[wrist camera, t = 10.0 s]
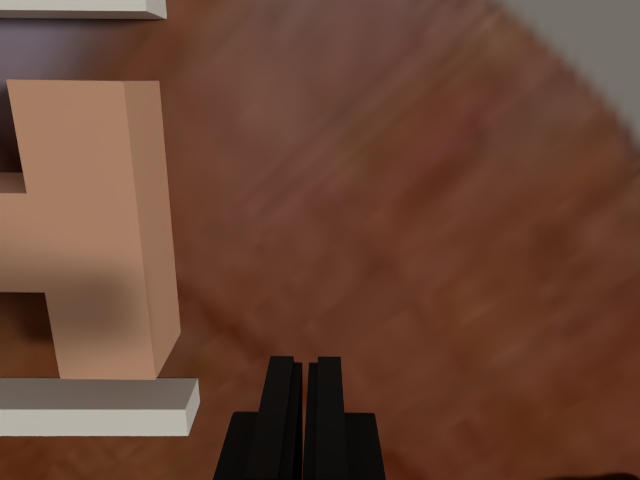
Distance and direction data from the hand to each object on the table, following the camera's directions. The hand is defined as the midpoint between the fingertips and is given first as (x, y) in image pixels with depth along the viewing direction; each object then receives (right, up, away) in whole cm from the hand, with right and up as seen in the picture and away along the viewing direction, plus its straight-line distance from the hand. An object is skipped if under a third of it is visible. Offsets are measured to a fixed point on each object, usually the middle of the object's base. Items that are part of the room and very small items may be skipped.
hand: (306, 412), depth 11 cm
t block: (-13, +5, +11) cm, 17 cm away
